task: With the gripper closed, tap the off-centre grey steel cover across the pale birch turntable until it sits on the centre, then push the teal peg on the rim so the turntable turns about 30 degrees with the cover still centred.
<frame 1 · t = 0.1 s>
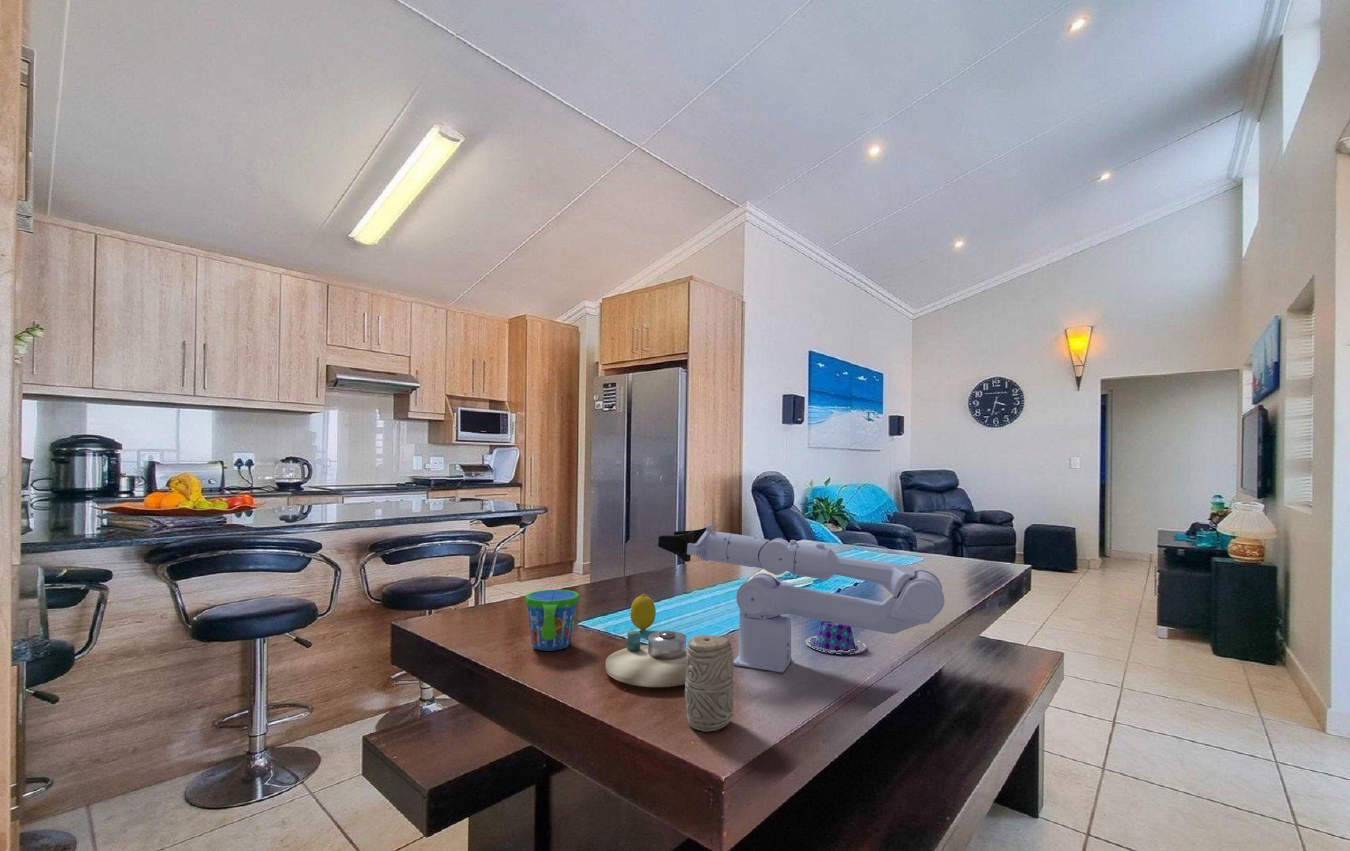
hand: (666, 538, 115), 22 cm above the table, tool horizontal, fingers open, 7 cm apart
cover: (667, 653, 104), point 2 cm above the table, touching turntable
snack cup: (551, 647, 114), on the table
turntable: (657, 655, 100), point 3 cm above the table, hinge at 0.0°, touching cover
polka dot fedora: (835, 648, 116), on the table
carving: (708, 726, 81), on the table
lemon: (642, 632, 125), on the table
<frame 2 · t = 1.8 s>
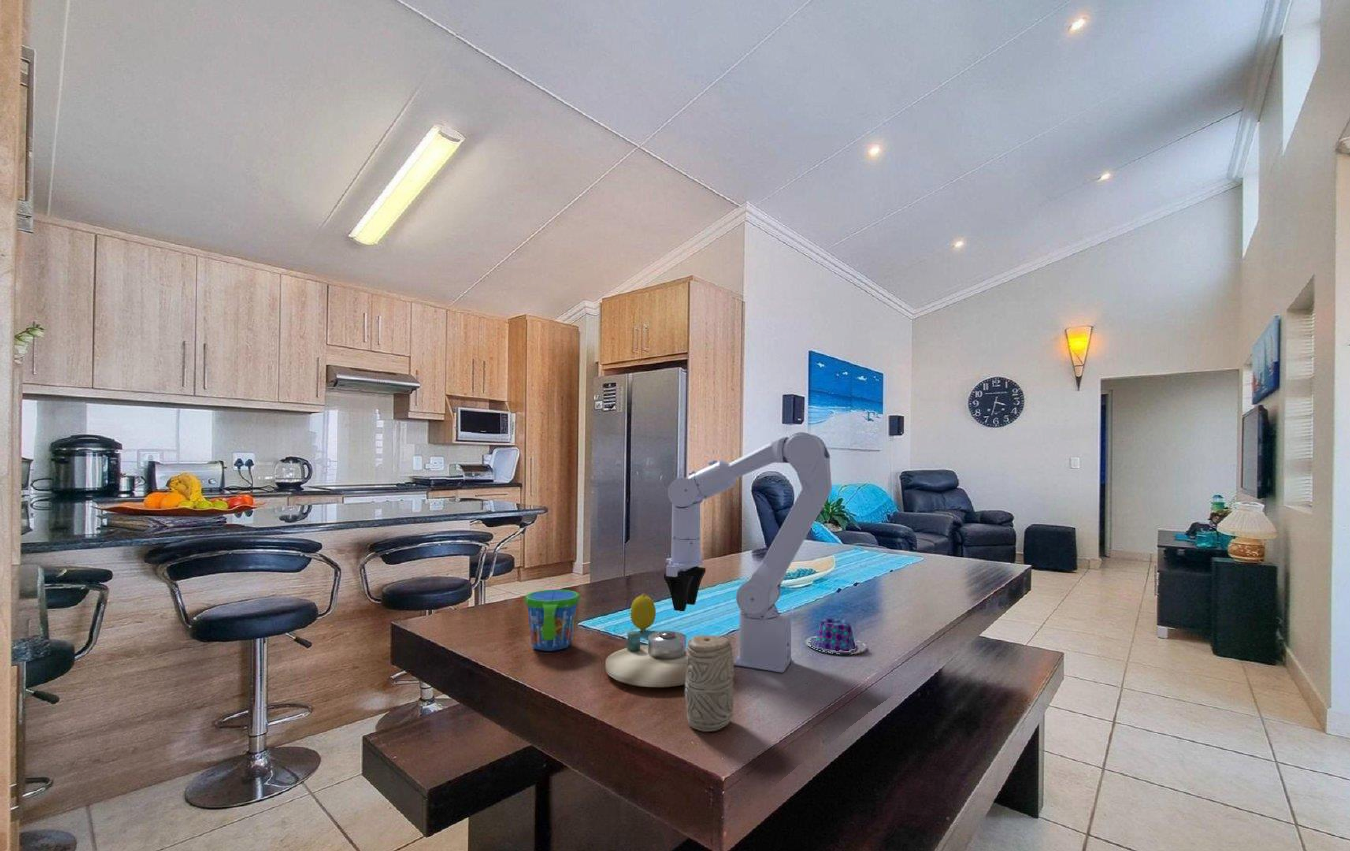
hand: (684, 607, 113), 8 cm above the table, tool pointing down, fingers open, 5 cm apart
nothing on the table moved.
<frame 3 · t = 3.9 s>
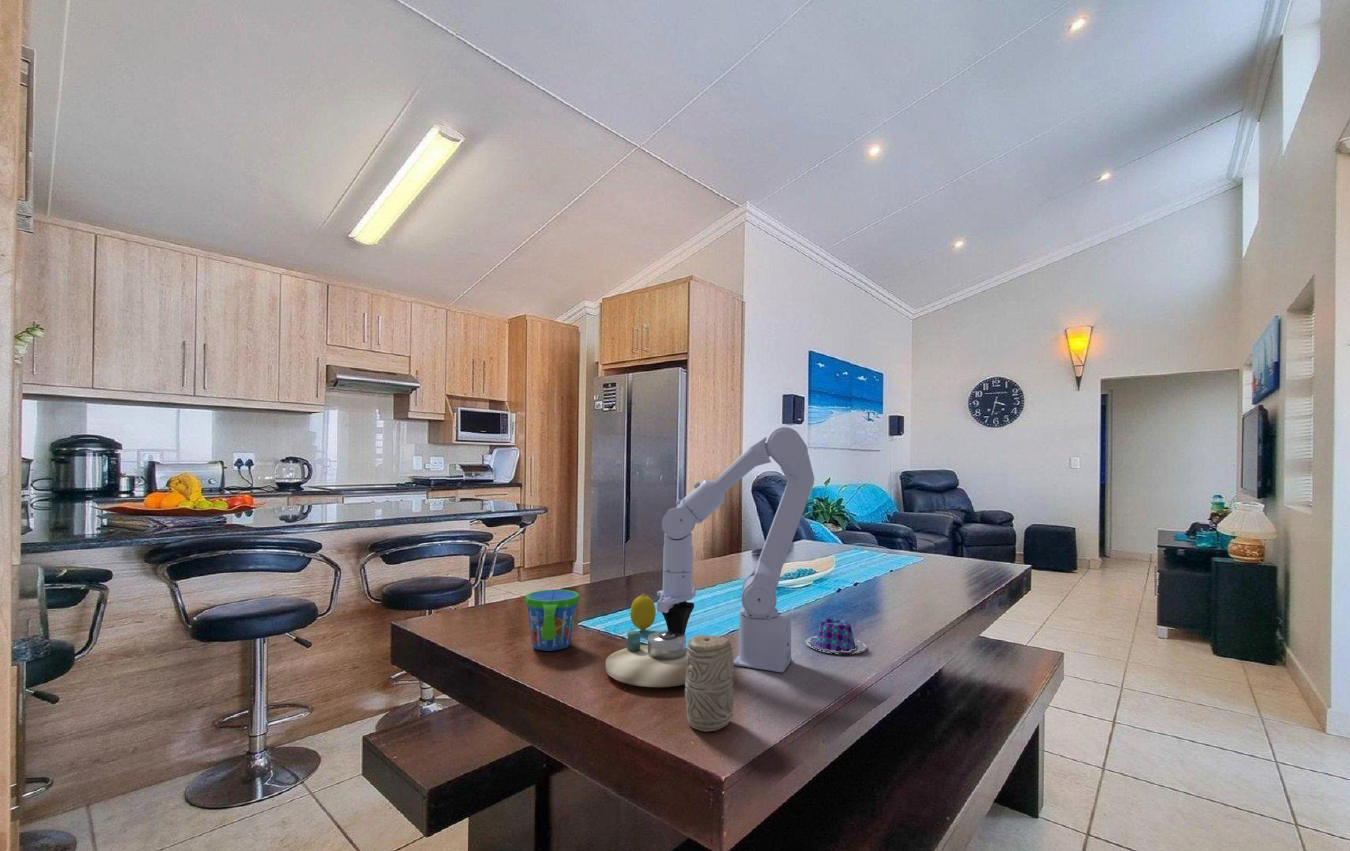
hand: (676, 642, 109), 3 cm above the table, tool pointing down, fingers closed
cover: (666, 653, 104), point 2 cm above the table, touching gripper, turntable
everything else where it was.
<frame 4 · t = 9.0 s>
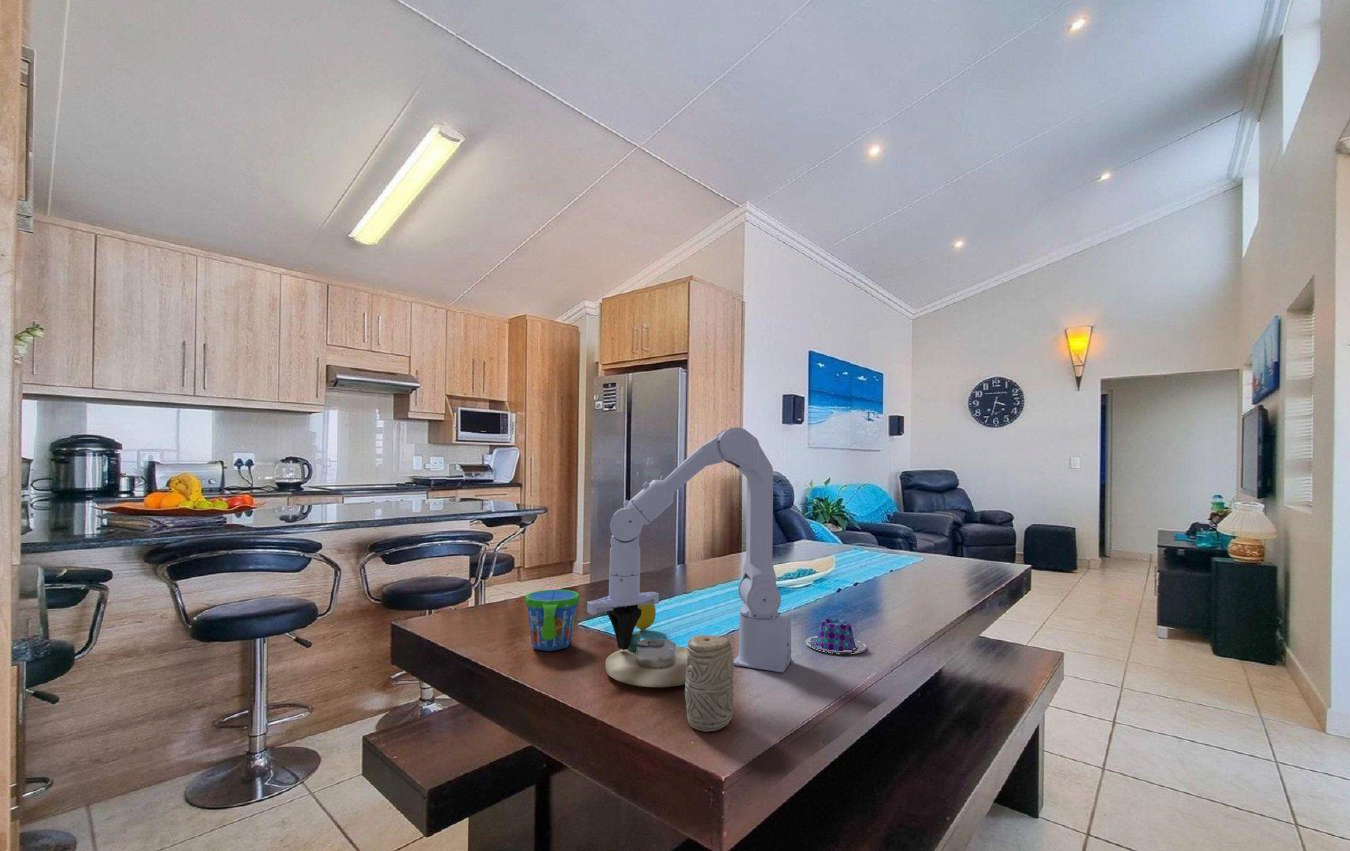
hand: (623, 648, 105), 3 cm above the table, tool pointing down, fingers closed
cover: (655, 662, 100), point 2 cm above the table, touching turntable
turntable: (657, 655, 100), point 3 cm above the table, hinge at -0.1°, touching cover, gripper
everything else where it was.
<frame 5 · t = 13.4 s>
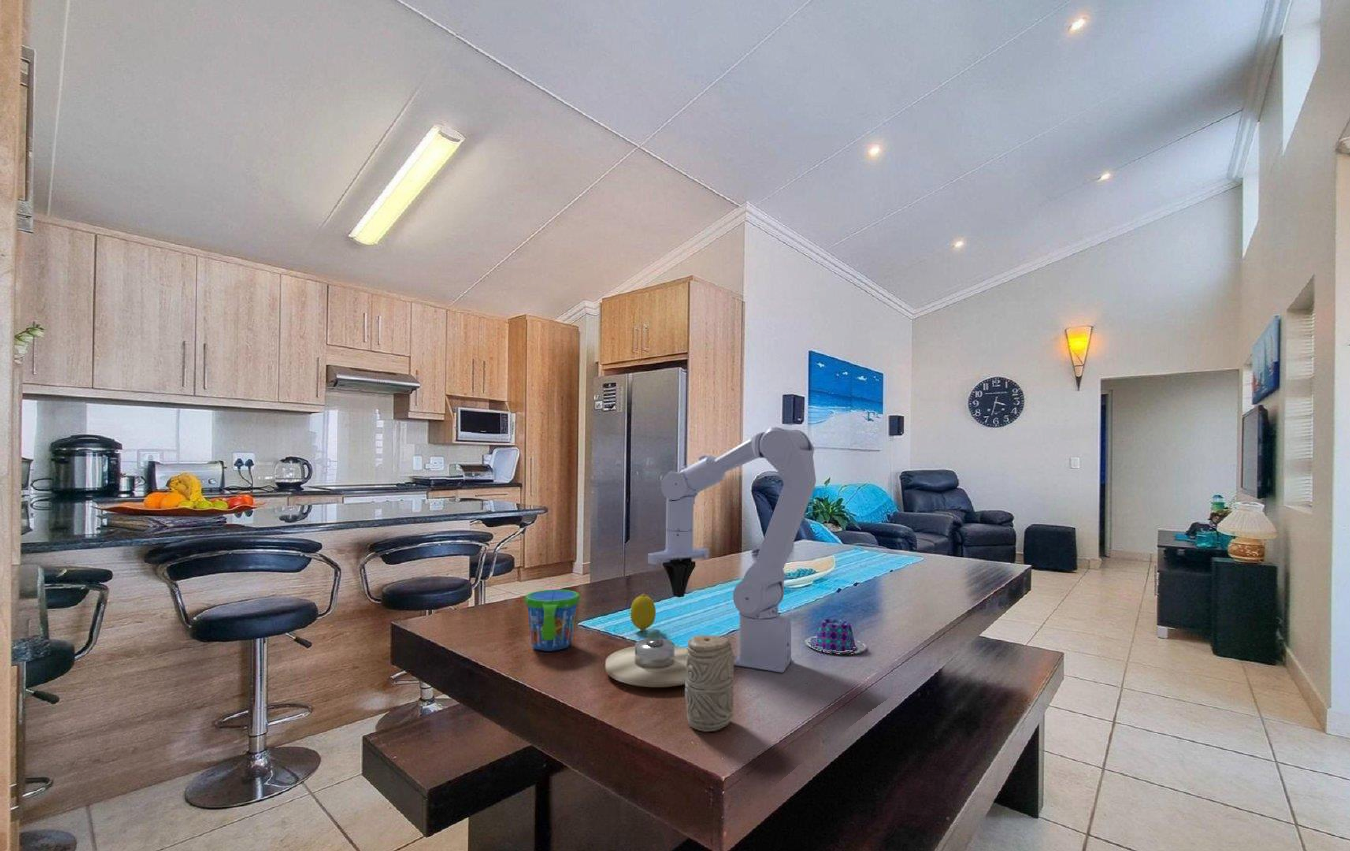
hand: (678, 596, 118), 9 cm above the table, tool pointing down, fingers closed
turntable: (657, 655, 100), point 3 cm above the table, hinge at -30.5°, touching cover
at the end: cover 0.5 cm from the turntable (horizontally); turntable at -30° (first picture: +0°); cover tilted 0° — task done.
